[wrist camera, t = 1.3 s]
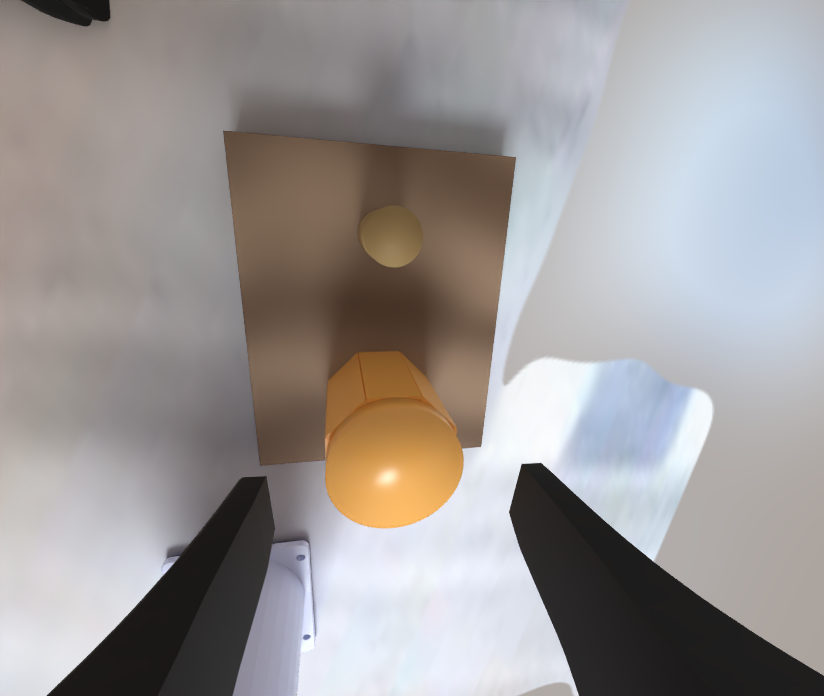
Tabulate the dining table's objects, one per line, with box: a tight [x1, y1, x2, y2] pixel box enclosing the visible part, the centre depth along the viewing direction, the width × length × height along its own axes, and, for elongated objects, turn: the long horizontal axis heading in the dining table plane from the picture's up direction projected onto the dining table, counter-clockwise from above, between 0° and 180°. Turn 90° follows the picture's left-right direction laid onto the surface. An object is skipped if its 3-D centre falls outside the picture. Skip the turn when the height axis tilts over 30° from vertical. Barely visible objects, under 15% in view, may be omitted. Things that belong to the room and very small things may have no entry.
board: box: [223, 131, 516, 466], centre depth 16 cm, size 15×12×6 cm
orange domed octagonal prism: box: [325, 351, 464, 528], centre depth 16 cm, size 5×5×6 cm
